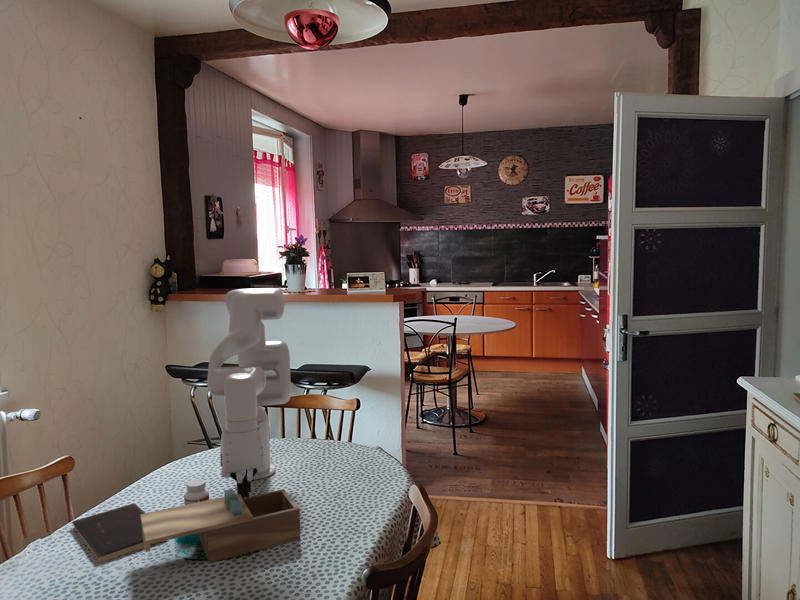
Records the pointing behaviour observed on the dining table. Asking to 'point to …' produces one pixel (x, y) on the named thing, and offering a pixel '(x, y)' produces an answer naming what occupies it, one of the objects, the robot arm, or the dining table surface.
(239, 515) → the toolbox lid
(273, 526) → the brown boxy piece
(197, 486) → the pill bottle
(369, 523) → the dining table surface
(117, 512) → the hardcover book
